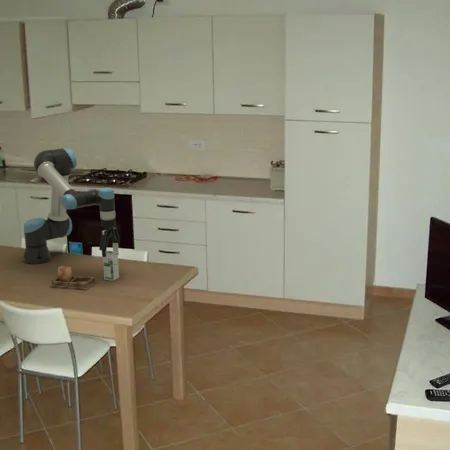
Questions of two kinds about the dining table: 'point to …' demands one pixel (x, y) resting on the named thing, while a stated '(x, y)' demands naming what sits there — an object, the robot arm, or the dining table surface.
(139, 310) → the dining table surface
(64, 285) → the caddy
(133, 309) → the dining table surface
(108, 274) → the syrup box
